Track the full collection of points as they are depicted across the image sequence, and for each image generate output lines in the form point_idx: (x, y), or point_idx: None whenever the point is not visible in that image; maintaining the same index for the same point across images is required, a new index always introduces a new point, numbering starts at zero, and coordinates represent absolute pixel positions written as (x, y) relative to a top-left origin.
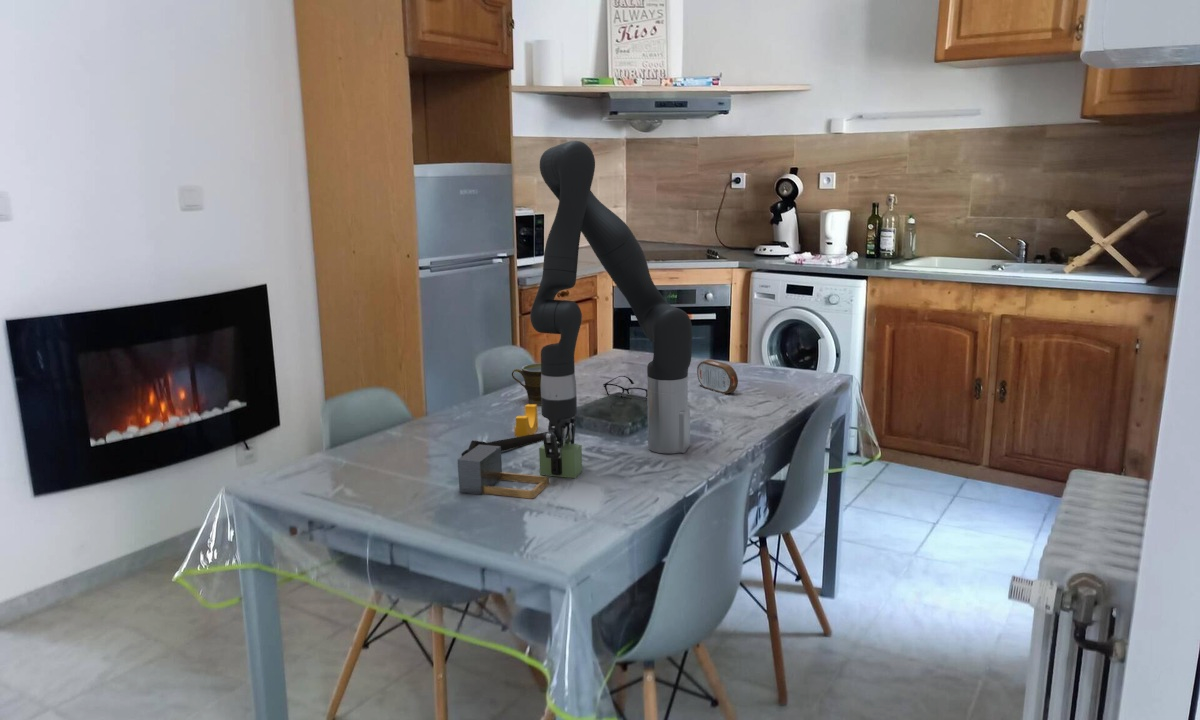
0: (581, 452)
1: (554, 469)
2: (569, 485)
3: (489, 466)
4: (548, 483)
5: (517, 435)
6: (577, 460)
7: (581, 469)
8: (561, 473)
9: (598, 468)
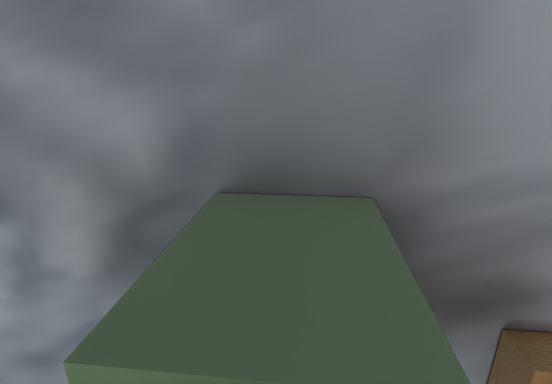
0: (151, 277)
1: None
2: (531, 193)
3: None
4: (521, 335)
5: None
6: (310, 256)
7: (226, 199)
8: None
9: (116, 92)
